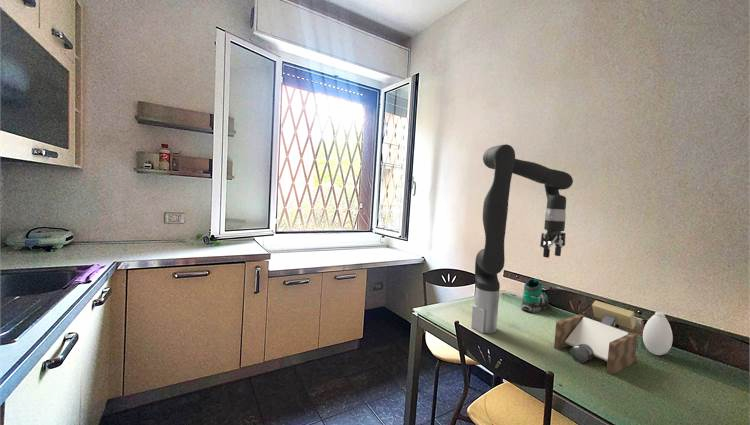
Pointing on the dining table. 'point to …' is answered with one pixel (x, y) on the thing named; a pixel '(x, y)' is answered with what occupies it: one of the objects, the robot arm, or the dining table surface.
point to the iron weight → (582, 353)
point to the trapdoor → (602, 328)
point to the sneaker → (534, 297)
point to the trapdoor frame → (619, 349)
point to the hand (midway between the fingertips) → (551, 256)
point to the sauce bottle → (658, 334)
